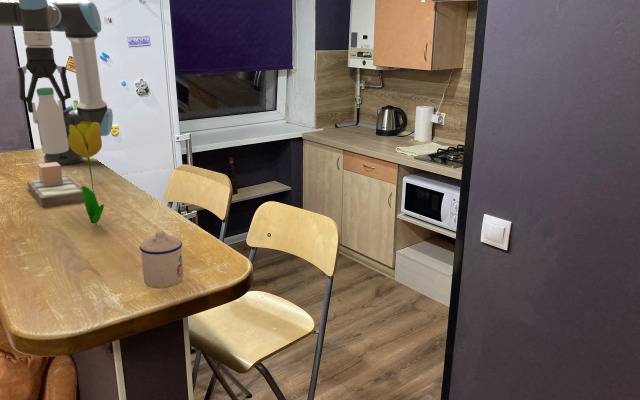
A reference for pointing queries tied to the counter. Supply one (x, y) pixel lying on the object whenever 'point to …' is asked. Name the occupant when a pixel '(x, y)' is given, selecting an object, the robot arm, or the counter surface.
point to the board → (56, 192)
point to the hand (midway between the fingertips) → (48, 121)
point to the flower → (86, 145)
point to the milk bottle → (50, 123)
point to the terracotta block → (50, 173)
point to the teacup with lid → (162, 260)
